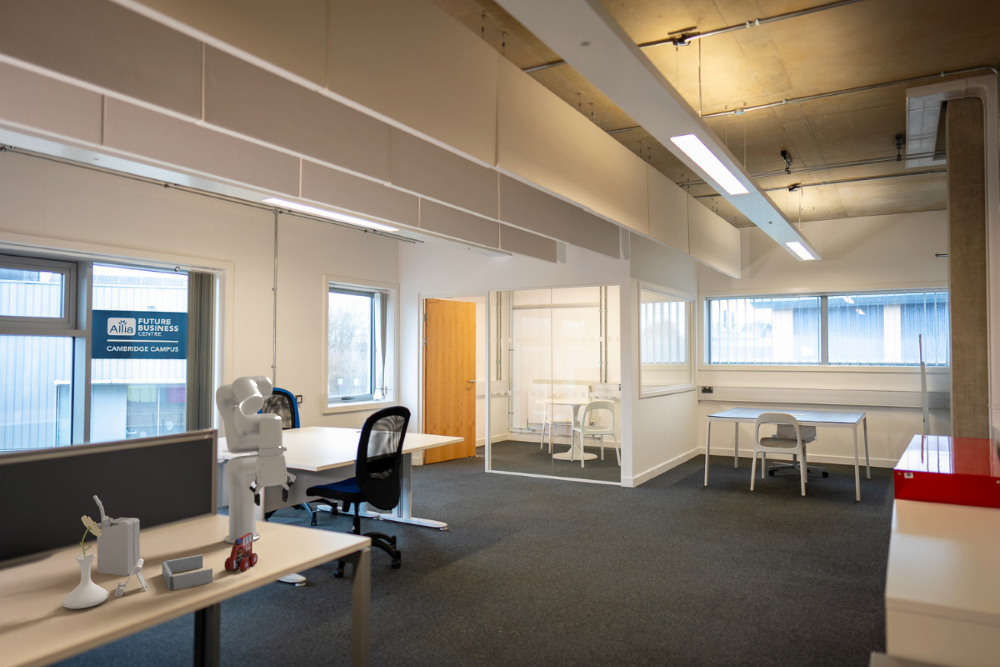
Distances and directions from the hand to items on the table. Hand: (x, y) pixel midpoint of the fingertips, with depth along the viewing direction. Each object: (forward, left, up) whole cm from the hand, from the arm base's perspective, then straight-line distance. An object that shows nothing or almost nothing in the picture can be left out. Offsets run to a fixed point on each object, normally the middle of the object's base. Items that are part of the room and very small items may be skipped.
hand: (271, 503), depth 226 cm
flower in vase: (+6, -54, -20) cm, 58 cm away
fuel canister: (-21, -45, -20) cm, 54 cm away
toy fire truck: (0, -10, -20) cm, 23 cm away
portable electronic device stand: (+2, -42, -20) cm, 47 cm away
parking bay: (0, -26, -20) cm, 33 cm away
